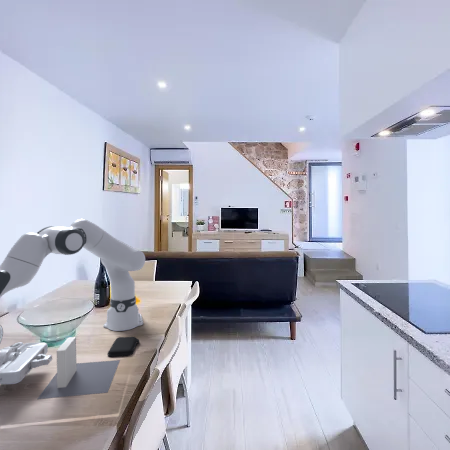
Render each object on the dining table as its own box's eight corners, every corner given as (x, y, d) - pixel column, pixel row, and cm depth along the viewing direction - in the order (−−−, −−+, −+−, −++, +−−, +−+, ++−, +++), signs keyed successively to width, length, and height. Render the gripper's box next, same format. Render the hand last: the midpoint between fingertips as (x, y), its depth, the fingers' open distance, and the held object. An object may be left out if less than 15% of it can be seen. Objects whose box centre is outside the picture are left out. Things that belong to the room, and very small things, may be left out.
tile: (68, 370, 102) (67, 337, 102) (76, 370, 103) (75, 336, 102) (56, 387, 92) (55, 350, 92) (65, 387, 93) (65, 350, 92)
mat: (63, 366, 106) (62, 364, 106) (120, 361, 110) (120, 360, 110) (37, 401, 87) (37, 399, 87) (107, 394, 90) (107, 392, 90)
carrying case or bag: (134, 358, 113) (141, 341, 127) (134, 350, 113) (141, 334, 127) (106, 360, 112) (116, 342, 126) (106, 352, 111) (115, 336, 126)
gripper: (-18, 371, 84) (35, 367, 86) (20, 340, 104) (62, 337, 106) (-17, 392, 84) (35, 387, 86) (20, 357, 104) (62, 354, 106)
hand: (50, 359), depth 96 cm, fingers closed
